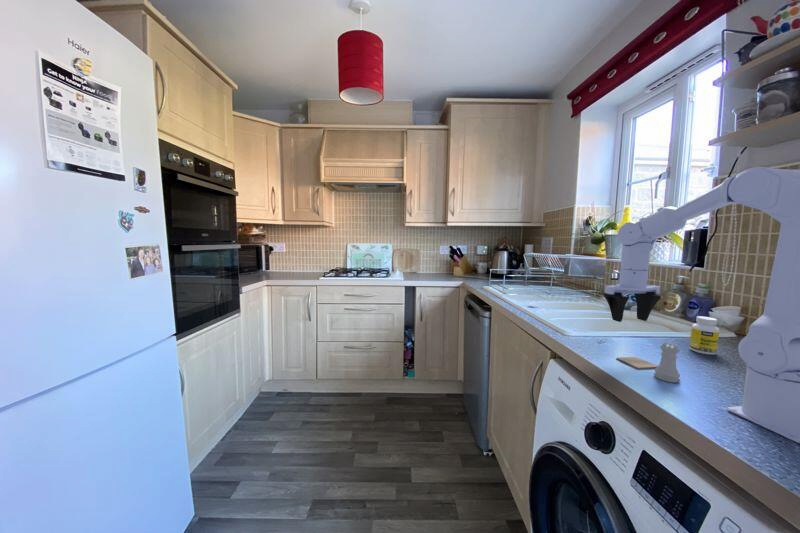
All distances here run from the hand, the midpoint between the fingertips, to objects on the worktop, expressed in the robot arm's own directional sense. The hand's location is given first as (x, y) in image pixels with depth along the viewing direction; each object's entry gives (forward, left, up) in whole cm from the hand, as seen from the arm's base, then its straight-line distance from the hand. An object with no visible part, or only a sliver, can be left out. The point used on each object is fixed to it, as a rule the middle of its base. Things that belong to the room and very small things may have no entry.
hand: (629, 320), depth 77 cm
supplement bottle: (+1, -26, -10) cm, 28 cm away
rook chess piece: (-12, +2, -10) cm, 16 cm away
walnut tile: (-4, +1, -10) cm, 11 cm away
